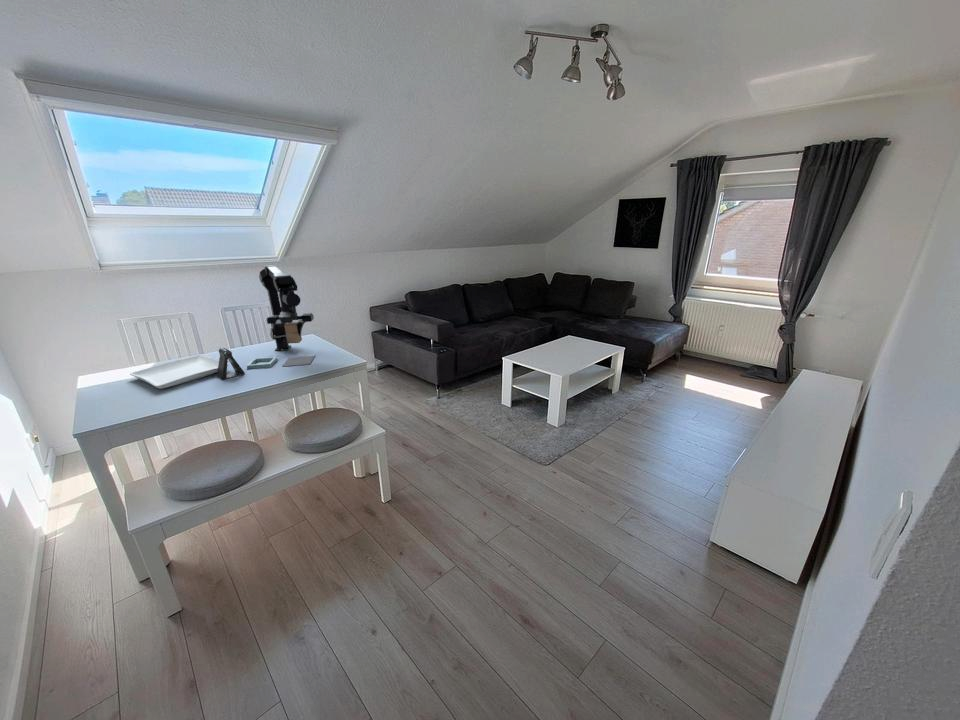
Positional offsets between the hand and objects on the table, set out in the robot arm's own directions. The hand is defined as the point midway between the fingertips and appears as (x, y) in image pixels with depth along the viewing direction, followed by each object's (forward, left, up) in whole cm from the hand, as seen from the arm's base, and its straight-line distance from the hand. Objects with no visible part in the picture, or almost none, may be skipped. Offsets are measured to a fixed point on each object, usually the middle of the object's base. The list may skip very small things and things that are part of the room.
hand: (294, 336), depth 172 cm
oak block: (0, 0, -2) cm, 3 cm away
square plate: (+7, -46, -13) cm, 48 cm away
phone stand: (+12, -25, -13) cm, 30 cm away
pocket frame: (0, -16, -12) cm, 20 cm away
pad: (0, 0, -12) cm, 13 cm away
